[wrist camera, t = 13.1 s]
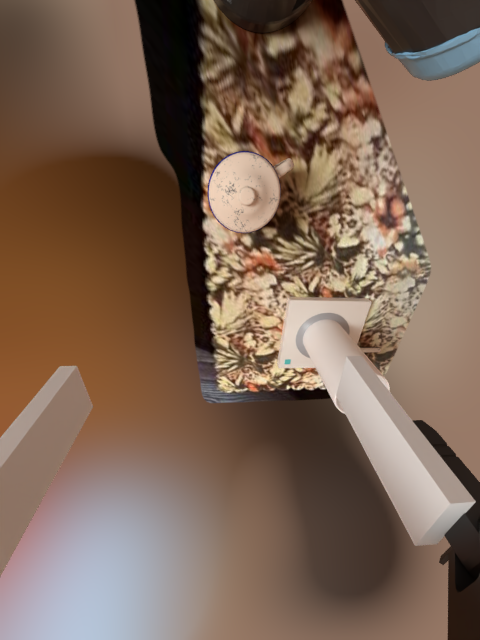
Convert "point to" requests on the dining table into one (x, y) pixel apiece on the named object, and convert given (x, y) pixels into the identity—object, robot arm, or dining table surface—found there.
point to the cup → (333, 354)
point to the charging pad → (310, 311)
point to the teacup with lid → (246, 190)
